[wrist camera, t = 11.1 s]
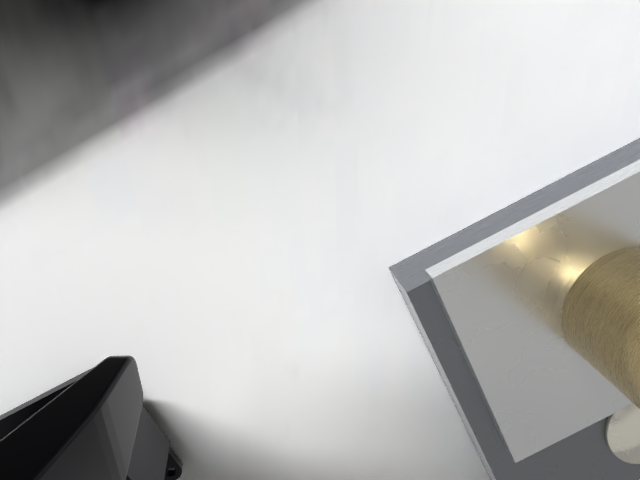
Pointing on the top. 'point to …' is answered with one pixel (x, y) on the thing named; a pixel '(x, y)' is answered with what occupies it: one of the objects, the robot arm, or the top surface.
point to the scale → (531, 327)
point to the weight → (608, 319)
